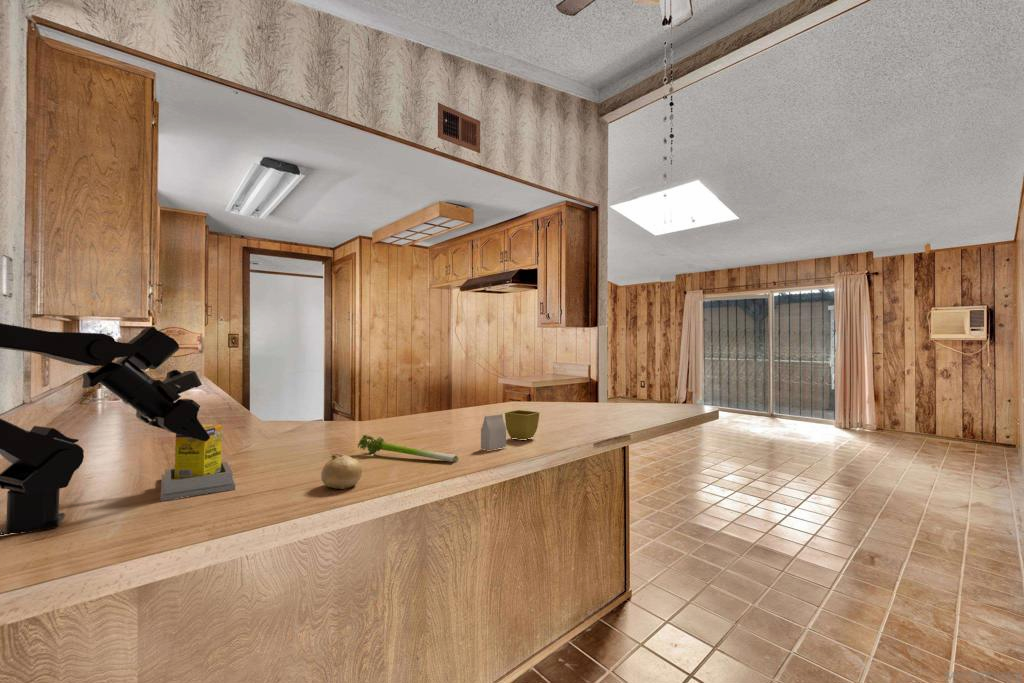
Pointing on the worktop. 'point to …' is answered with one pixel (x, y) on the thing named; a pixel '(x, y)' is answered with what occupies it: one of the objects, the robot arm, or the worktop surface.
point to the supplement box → (198, 454)
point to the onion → (341, 472)
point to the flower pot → (521, 423)
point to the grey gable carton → (493, 432)
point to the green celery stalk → (401, 449)
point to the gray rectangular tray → (196, 483)
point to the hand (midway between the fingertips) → (200, 437)
